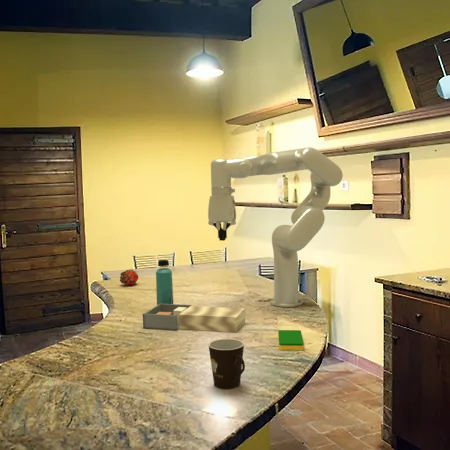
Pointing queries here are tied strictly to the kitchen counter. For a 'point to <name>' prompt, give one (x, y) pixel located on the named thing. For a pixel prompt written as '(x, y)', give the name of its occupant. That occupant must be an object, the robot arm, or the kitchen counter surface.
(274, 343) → the kitchen counter surface
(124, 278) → the dragon fruit
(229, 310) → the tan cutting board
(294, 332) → the dish sponge
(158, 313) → the orange square block
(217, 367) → the coffee mug
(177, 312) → the cream square block
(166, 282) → the beverage bottle
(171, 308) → the tray
